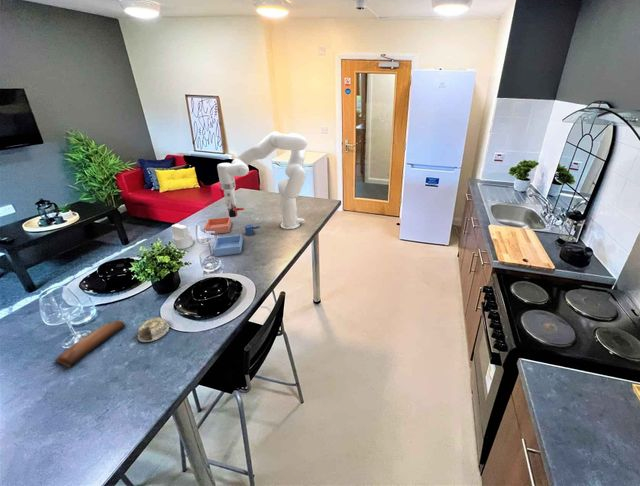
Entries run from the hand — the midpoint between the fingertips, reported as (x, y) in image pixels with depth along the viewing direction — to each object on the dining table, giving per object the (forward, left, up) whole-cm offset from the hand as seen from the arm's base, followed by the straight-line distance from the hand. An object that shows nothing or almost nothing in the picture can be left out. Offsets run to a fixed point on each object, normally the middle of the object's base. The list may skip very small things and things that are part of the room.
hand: (233, 214), depth 167 cm
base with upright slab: (+28, +1, -16) cm, 32 cm away
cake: (+23, +68, -16) cm, 73 cm away
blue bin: (+3, +12, -16) cm, 20 cm away
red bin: (+12, -15, -16) cm, 25 cm away
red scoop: (-2, 0, 0) cm, 2 cm away
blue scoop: (-9, -4, -16) cm, 18 cm away
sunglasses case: (+42, +68, -16) cm, 81 cm away
